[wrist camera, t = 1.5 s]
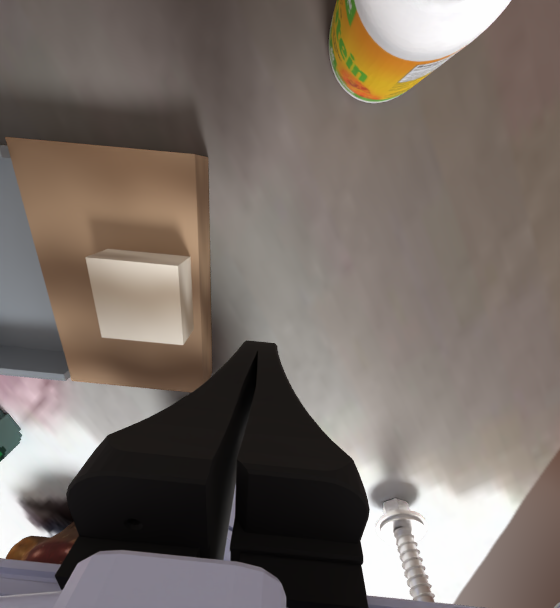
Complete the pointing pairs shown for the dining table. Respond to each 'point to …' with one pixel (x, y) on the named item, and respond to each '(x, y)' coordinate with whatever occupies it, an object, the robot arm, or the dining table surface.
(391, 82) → the supplement bottle
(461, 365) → the dining table surface
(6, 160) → the box
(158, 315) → the wooden tile
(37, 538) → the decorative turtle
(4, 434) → the can
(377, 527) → the screw
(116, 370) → the wooden board
